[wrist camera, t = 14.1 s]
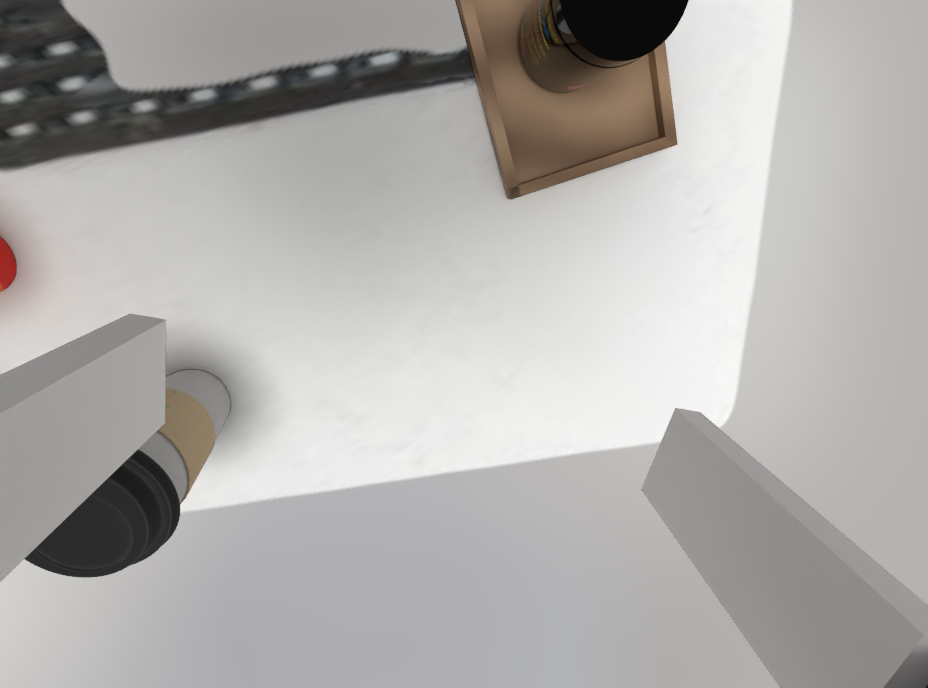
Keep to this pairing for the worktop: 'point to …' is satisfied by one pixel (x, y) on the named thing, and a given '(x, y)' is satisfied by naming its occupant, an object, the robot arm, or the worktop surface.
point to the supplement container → (590, 37)
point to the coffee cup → (142, 487)
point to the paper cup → (6, 265)
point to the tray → (561, 106)
